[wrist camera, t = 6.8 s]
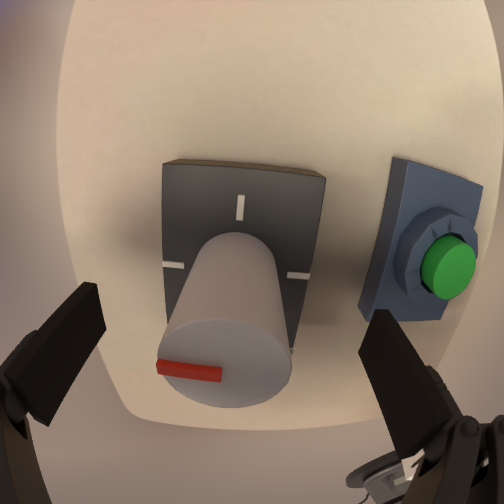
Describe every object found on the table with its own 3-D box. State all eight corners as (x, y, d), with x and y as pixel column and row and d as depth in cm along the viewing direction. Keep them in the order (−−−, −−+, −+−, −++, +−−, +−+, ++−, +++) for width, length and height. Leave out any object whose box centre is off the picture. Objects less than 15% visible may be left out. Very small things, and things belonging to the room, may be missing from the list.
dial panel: (288, 323, 22) (293, 349, 19) (177, 313, 21) (168, 338, 18) (315, 171, 17) (327, 177, 14) (176, 159, 17) (161, 163, 14)
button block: (429, 306, 21) (450, 331, 18) (357, 306, 21) (373, 336, 17) (466, 180, 17) (498, 191, 13) (392, 157, 16) (423, 163, 13)
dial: (281, 235, 15) (306, 330, 8) (270, 306, 17) (280, 416, 10) (196, 228, 15) (146, 315, 8) (195, 299, 17) (163, 405, 10)
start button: (451, 287, 16) (463, 299, 15) (413, 286, 16) (425, 299, 15) (468, 238, 15) (482, 247, 13) (430, 231, 15) (445, 241, 13)
